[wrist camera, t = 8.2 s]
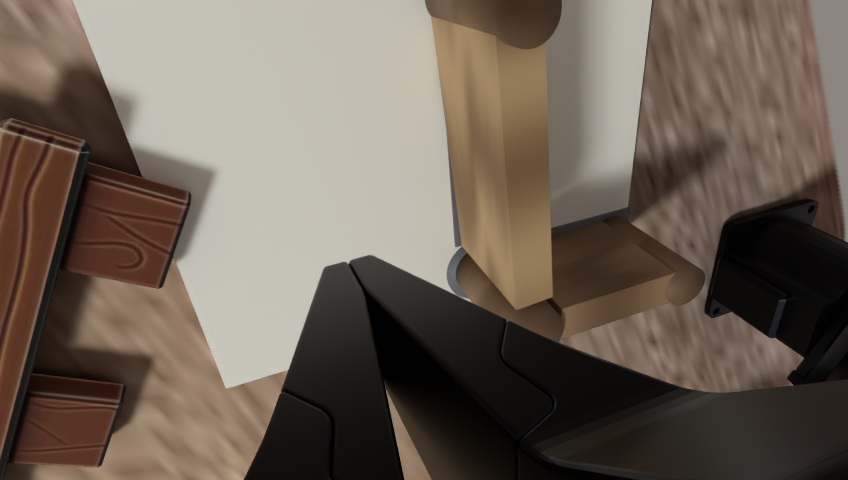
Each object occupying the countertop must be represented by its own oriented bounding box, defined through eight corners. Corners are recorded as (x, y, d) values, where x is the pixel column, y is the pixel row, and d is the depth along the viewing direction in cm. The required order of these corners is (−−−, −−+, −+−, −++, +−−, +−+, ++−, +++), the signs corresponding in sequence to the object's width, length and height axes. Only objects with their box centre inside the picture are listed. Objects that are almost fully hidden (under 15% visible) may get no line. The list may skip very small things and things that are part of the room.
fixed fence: (626, 205, 26) (709, 257, 21) (621, 247, 27) (699, 304, 23) (453, 252, 23) (507, 320, 19) (456, 296, 25) (508, 369, 20)
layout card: (658, -124, 19) (668, -126, 19) (616, 264, 28) (622, 269, 28) (50, -68, 14) (44, -68, 14) (225, 382, 23) (226, 390, 23)
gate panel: (495, 235, 24) (565, 304, 19) (458, 247, 23) (520, 321, 19) (470, -38, 18) (561, -33, 13) (420, -28, 17) (496, -20, 13)
